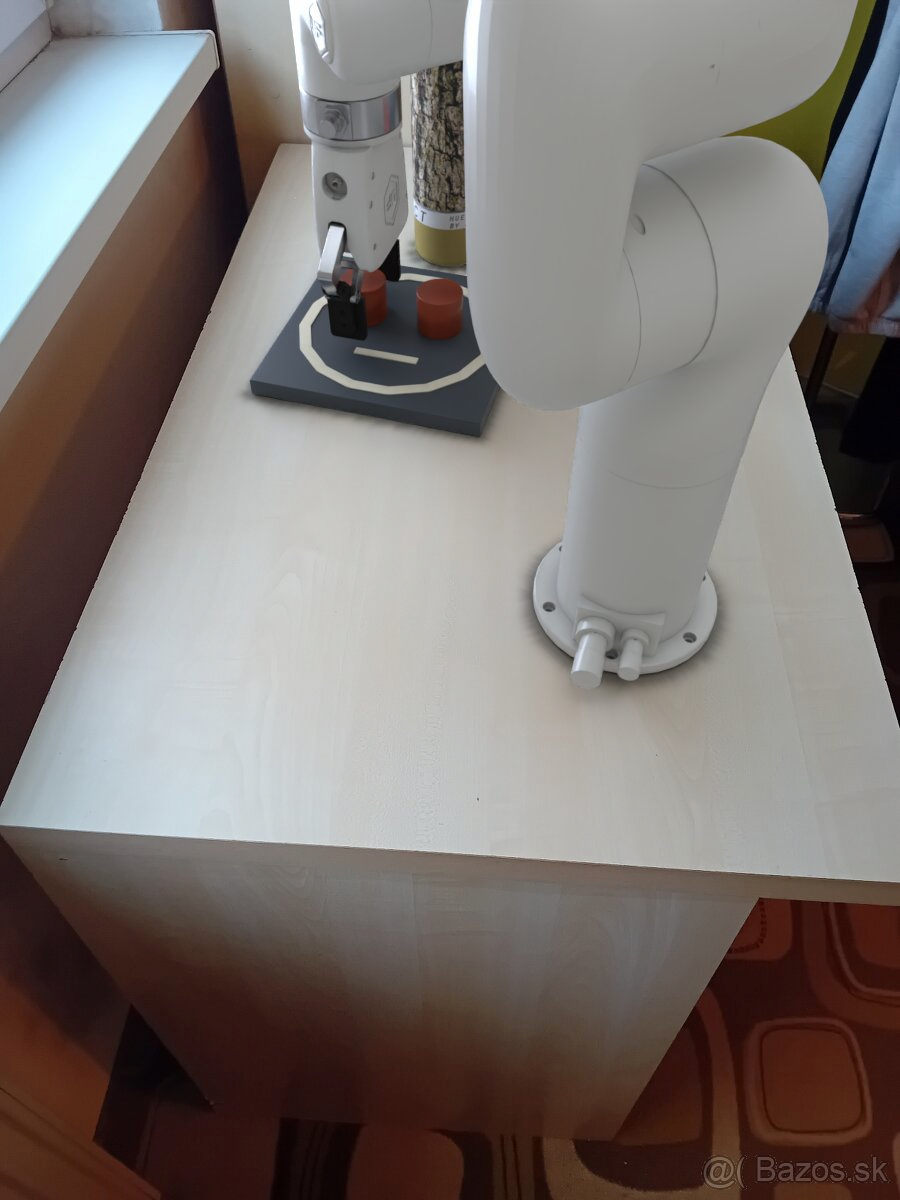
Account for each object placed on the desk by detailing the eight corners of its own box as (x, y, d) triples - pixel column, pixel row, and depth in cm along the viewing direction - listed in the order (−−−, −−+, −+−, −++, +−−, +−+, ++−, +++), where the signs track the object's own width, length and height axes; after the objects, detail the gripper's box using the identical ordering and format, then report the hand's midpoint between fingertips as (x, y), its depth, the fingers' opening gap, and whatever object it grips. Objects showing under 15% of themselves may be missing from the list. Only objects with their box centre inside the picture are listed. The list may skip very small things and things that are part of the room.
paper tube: (485, 234, 98) (494, -51, 78) (480, 271, 94) (488, -20, 74) (419, 230, 98) (411, -53, 79) (410, 267, 94) (400, -23, 75)
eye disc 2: (455, 342, 84) (455, 308, 81) (411, 335, 85) (410, 300, 82) (467, 316, 86) (468, 282, 84) (425, 309, 87) (424, 275, 84)
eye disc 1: (379, 330, 85) (377, 295, 82) (336, 322, 86) (333, 288, 83) (393, 304, 87) (391, 270, 85) (352, 297, 88) (348, 263, 85)
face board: (480, 437, 78) (480, 422, 77) (251, 394, 82) (248, 378, 81) (534, 300, 90) (535, 285, 89) (333, 267, 94) (332, 252, 93)
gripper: (360, 166, 66) (375, 372, 80) (432, 64, 77) (435, 261, 90) (259, 152, 68) (291, 357, 81) (343, 54, 78) (359, 249, 92)
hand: (367, 306), depth 86 cm, fingers open, 8 cm apart
